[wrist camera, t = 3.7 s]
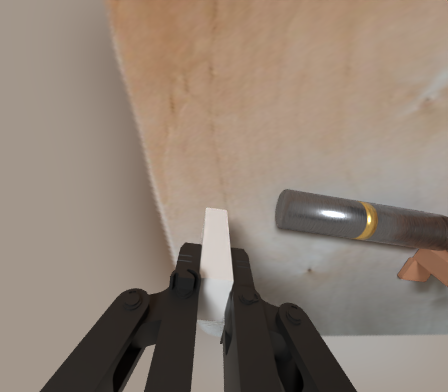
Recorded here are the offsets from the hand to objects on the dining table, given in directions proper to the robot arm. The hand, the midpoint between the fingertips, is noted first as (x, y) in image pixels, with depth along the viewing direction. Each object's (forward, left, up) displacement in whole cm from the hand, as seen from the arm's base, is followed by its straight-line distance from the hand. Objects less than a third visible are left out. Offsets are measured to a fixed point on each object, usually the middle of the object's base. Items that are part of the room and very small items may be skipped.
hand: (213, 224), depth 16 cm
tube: (0, +14, -6) cm, 15 cm away
